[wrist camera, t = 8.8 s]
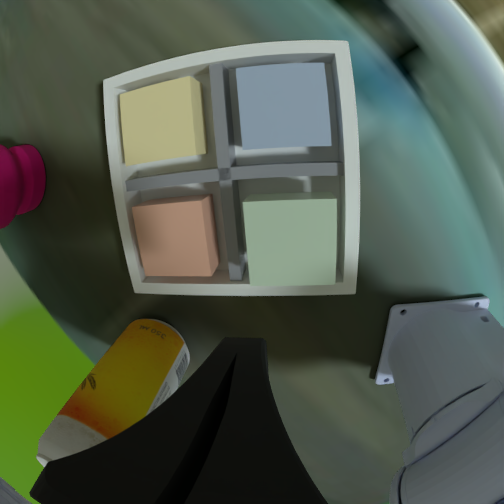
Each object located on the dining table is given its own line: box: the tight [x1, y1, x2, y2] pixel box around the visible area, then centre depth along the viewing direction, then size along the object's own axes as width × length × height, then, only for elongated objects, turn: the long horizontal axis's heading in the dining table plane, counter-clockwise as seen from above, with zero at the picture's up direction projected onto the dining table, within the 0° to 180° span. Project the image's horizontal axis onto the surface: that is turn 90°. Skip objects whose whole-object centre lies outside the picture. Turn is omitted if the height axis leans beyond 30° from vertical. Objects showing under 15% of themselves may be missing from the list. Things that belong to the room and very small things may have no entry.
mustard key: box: [120, 76, 208, 166], centre depth 15 cm, size 4×4×2 cm
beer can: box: [36, 319, 190, 467], centre depth 16 cm, size 6×6×15 cm
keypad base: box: [103, 40, 360, 296], centre depth 16 cm, size 14×14×2 cm
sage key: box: [243, 192, 337, 286], centre depth 15 cm, size 4×4×2 cm
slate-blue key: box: [236, 63, 332, 150], centre depth 14 cm, size 4×4×2 cm
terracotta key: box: [132, 194, 220, 276], centre depth 18 cm, size 4×4×2 cm
